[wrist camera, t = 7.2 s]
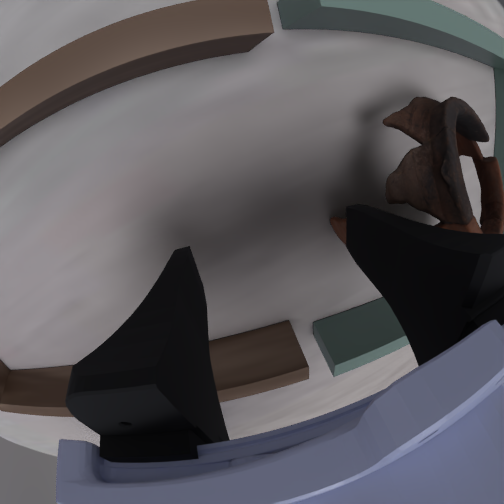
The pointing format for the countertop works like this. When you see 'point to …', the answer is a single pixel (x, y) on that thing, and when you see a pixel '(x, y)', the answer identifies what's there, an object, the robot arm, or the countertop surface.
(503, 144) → the frame
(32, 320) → the countertop surface
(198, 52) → the brown wooden frame
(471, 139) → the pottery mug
